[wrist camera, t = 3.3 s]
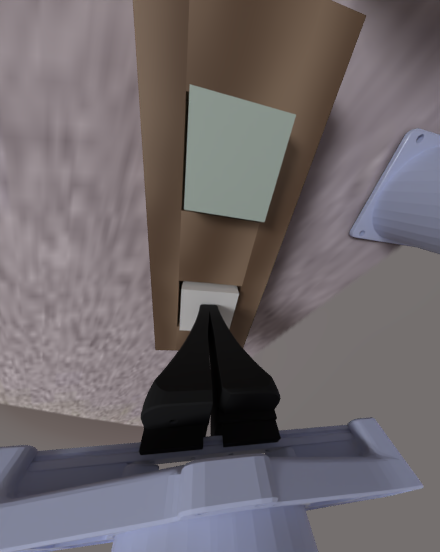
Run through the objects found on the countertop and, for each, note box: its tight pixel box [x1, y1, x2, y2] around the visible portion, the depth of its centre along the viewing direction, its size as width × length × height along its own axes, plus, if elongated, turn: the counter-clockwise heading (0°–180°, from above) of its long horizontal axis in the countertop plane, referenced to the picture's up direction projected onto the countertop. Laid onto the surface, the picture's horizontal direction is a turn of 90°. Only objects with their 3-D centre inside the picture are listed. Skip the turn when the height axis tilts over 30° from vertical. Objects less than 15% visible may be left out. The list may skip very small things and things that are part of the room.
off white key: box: [179, 281, 239, 331], centre depth 14 cm, size 4×4×3 cm
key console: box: [133, 0, 366, 350], centre depth 13 cm, size 9×22×4 cm, turn 171°
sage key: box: [184, 84, 296, 222], centre depth 9 cm, size 4×4×3 cm
